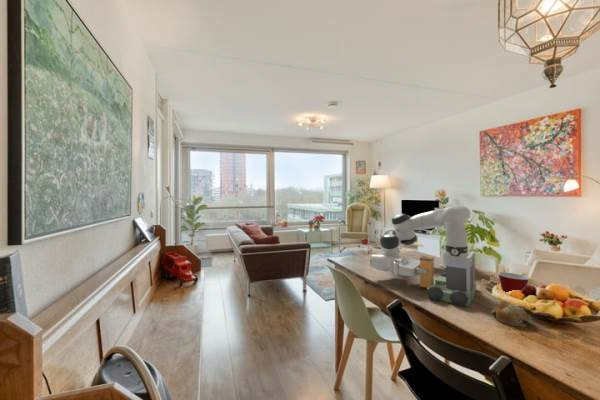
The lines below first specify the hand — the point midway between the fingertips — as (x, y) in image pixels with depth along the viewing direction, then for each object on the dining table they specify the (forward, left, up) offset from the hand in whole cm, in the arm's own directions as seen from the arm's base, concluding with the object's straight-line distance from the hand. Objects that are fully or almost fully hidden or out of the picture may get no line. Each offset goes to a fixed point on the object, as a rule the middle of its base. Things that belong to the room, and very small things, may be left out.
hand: (428, 269), depth 130 cm
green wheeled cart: (0, +10, -9) cm, 14 cm away
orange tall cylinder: (0, -1, -8) cm, 8 cm away
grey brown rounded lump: (+17, +31, -10) cm, 37 cm away
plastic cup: (-4, +32, -10) cm, 34 cm away
